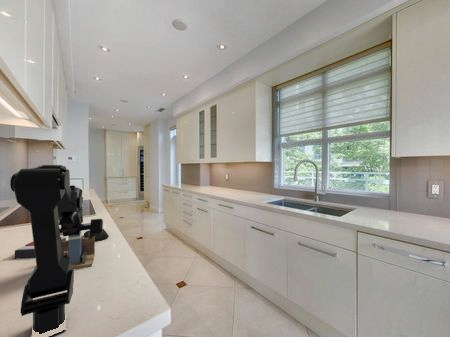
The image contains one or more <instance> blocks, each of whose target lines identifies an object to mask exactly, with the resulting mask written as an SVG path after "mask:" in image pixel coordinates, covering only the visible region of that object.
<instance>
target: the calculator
mask: <svg viewBox="0 0 450 337" xmlns="http://www.w3.org/2000/svg"><path fill="white" fill-rule="evenodd" d="M60 237H61V239H62V241H67V240H66V239H67V238H66V237H65V236H60ZM16 258H20V259H31V258H32V259H33V258H35V250H34V242H33V241H31V242H29V243H27V244H25V245H23V246H21V247H19V248H17V249H15V250H14V260H15V259H16ZM35 259H36V258H35ZM16 260H17V259H16Z"/></svg>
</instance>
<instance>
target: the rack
mask: <svg viewBox="0 0 450 337" xmlns="http://www.w3.org/2000/svg"><path fill="white" fill-rule="evenodd" d="M95 245H96V242H95V237H93V238H91V239H89V237H88V238H85V237H83V238H82V237H81V261H80V263H76V264H71V270H74V269H76V270H79V269H78V268H81V269H85V268H84V267H86V268H90V267H89V266H91V267H93V265H94V264H93V263H94V259H95V256H96V255H95V252H96V251H95V250H96V248H95V247H96V246H95ZM61 254H62V256H66V255H68V240H66V241H62V243H61ZM92 264H93V265H92ZM74 271H75V270H74Z"/></svg>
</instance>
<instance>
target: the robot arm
mask: <svg viewBox="0 0 450 337" xmlns="http://www.w3.org/2000/svg"><path fill="white" fill-rule="evenodd" d="M70 180H71V179H70V170H69V169H67V167H66V165H63V164H42V165H38V166H37V167H31V168H21V169H20V170H19V171H17V172H15V173H14V174H13V173H12V176H11V177H10V181H9V182H10V189H11V191H12V192H13V193H14V196H15V200H16V203H17V204H18V205H19V206H21V207H22V208H24V209H26V211H28V212H29V216H30V224H31V225H30V226H31V233H32V240H33V241H32V242H34V250H35V264H36V265H35V266H34V269H33V271H32V273H31V275H30V277H29V278H28V281H27V282H26V284H25V285H24V289H23V292H22V297H21V303H20V315H21V317H23V316H25V315H29V314H30V315H31V314H32V325H33V330H34V331H35V332H39V334H42V333H45V332H47V331H50V330H53V329H56V328H58V327H59V325H60V324H62V323H63V322H64V320H65V313H66V305H69V304H70V303H71V299H72V297H73V294H74V280H75V279H74V278H75V270H71V264H70V257H69V256H68V255H66V256H62V254H61V243H62V239H61V237H68V236H71V235H79V234H80V231H81V232H82V231H89V230H90V232H89V239H91V238H93V237H95V236H98V235H101V234H102V231H103V229H104V228H103V226H104V220H103V219H102V218H93V219H90V222H89V223H84V217H83V216H84V215H83V213H84V212H83V203H84V197H83V189H81V188H80V187H77V186H76V185H74V184H73V185H72V184H71V181H70ZM44 296H45V297H44Z"/></svg>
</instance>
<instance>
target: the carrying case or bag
mask: <svg viewBox="0 0 450 337" xmlns="http://www.w3.org/2000/svg"><path fill="white" fill-rule="evenodd" d="M89 232H90V230H85V232H84V233H83V236H84V238H88V237H89ZM107 239H109V234H108V233H107V231H106V229H104V228H103V231H102V234H101V235H98V236H95V243H96V242H101V241H104V240H105V241H106V240H107Z"/></svg>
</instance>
